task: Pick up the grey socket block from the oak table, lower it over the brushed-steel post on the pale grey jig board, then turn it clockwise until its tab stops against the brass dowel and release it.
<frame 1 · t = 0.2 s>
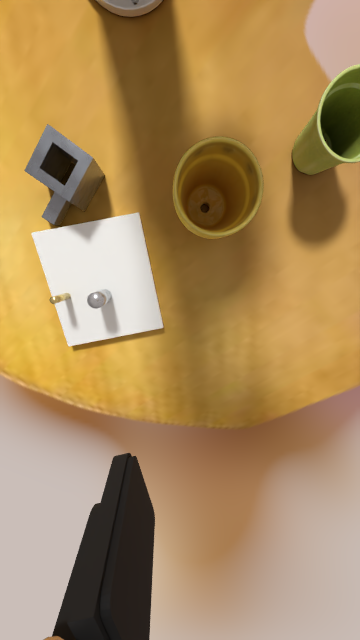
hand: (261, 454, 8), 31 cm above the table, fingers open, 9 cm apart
jig board: (103, 282, 37), on the table
plant pot: (204, 209, 35), on the table
plant pot 2: (310, 152, 34), on the table
brass dowel: (70, 295, 37), resting on jig board
steel post: (106, 294, 37), resting on jig board
grey socket block: (59, 211, 34), on the table
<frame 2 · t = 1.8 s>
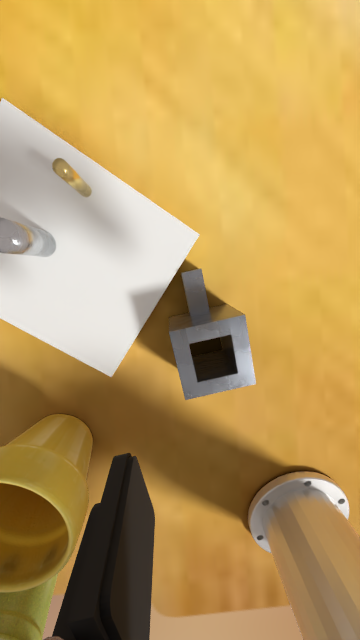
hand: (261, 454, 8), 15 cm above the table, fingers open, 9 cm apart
jig board: (70, 257, 21), on the table
plant pot: (63, 437, 25), on the table
plant pot 2: (39, 553, 29), on the table
brass dowel: (90, 195, 20), resting on jig board
steel post: (50, 245, 21), resting on jig board
grey socket block: (193, 291, 22), on the table
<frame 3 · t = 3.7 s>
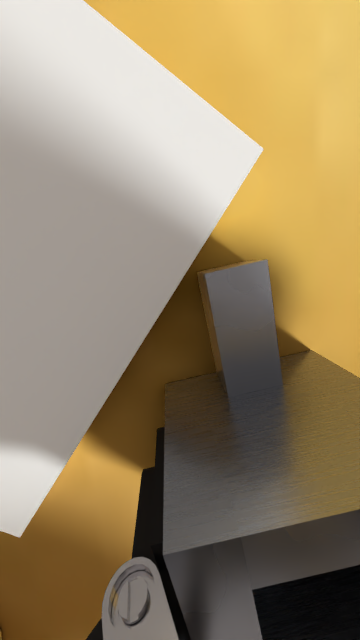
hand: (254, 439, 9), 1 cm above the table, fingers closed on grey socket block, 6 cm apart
grey socket block: (230, 319, 9), on the table, touching gripper
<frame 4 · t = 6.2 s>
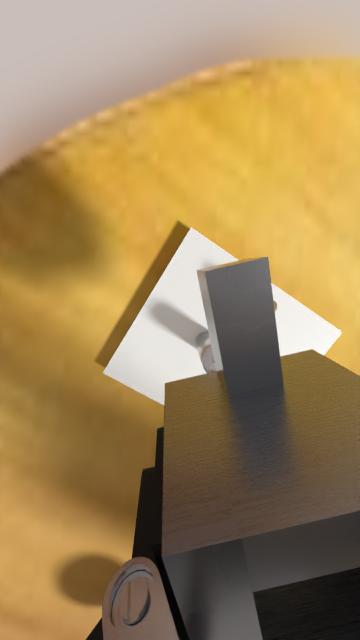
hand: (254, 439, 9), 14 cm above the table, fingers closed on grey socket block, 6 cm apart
jig board: (220, 348, 24), on the table
steel post: (204, 338, 23), resting on jig board
grey socket block: (230, 318, 8), point 14 cm above the table, touching gripper
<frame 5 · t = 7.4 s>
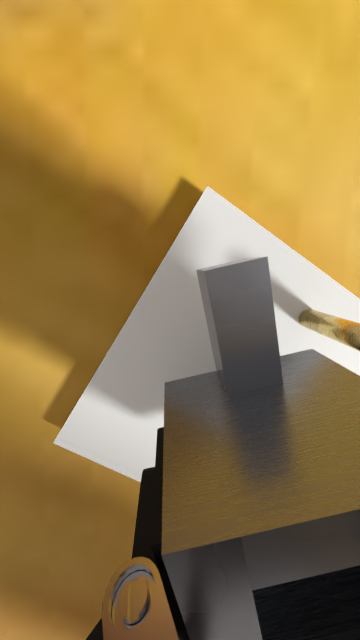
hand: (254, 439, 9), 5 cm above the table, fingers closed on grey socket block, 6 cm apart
jig board: (250, 395, 14), on the table
brass dowel: (295, 313, 13), resting on jig board
grey socket block: (230, 317, 8), point 4 cm above the table, touching gripper
when the fingers open (2 cm above the table, at t = 8.7 s): grey socket block stays where it is, resting on jig board.
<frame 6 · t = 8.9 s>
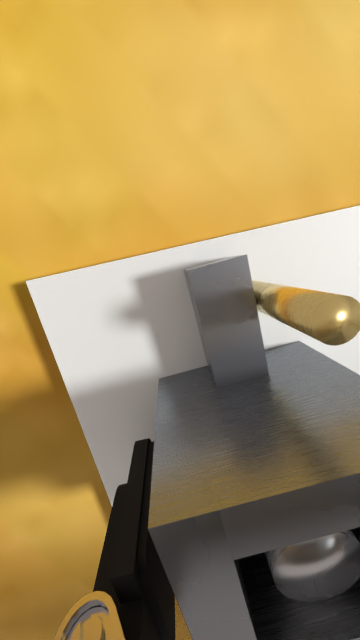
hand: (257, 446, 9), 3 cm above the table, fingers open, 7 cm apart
jig board: (277, 398, 11), on the table
brass dowel: (242, 290, 10), resting on jig board
steel post: (238, 407, 11), resting on jig board
grey socket block: (218, 314, 9), point 1 cm above the table, touching jig board
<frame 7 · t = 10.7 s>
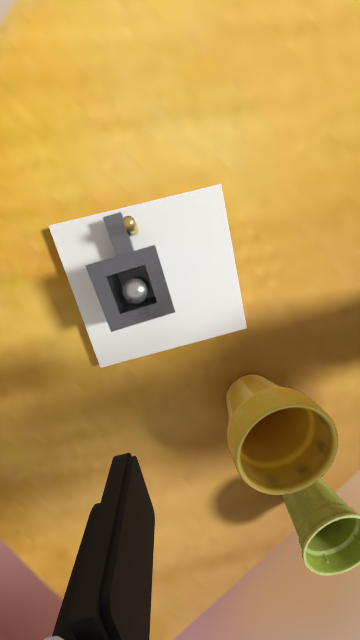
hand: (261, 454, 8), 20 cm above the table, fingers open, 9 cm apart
jig board: (156, 281, 26), on the table
plant pot: (247, 395, 31), on the table
plant pot 2: (296, 479, 35), on the table
brass dowel: (135, 231, 25), resting on jig board
steel post: (140, 285, 26), resting on jig board
grey socket block: (121, 238, 24), point 1 cm above the table, touching jig board
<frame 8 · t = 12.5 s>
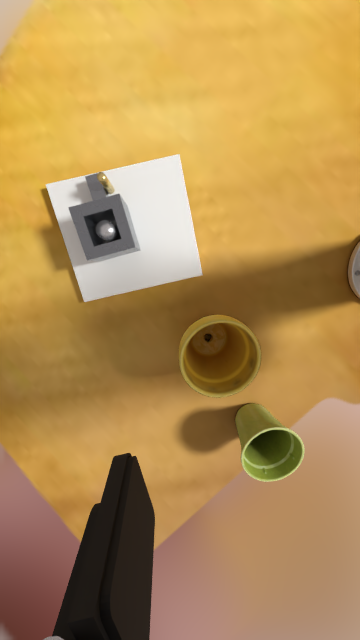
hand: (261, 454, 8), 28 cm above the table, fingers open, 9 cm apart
jig board: (130, 233, 33), on the table
plant pot: (207, 336, 37), on the table
plant pot 2: (251, 416, 41), on the table
brass dowel: (112, 192, 31), resting on jig board
steel post: (116, 236, 33), resting on jig board
grey socket block: (101, 196, 30), point 1 cm above the table, touching jig board
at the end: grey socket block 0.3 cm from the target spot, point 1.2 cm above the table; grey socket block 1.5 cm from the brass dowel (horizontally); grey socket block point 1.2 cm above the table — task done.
